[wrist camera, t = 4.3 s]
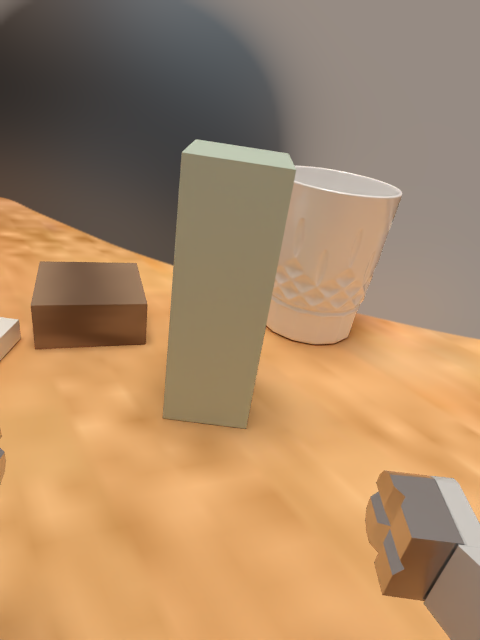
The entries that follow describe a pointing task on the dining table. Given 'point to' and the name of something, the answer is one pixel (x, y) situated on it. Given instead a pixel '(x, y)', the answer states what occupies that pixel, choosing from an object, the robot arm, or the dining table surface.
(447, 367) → the dining table surface
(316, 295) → the white cup
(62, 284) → the walnut block
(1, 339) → the plate
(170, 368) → the sage block
